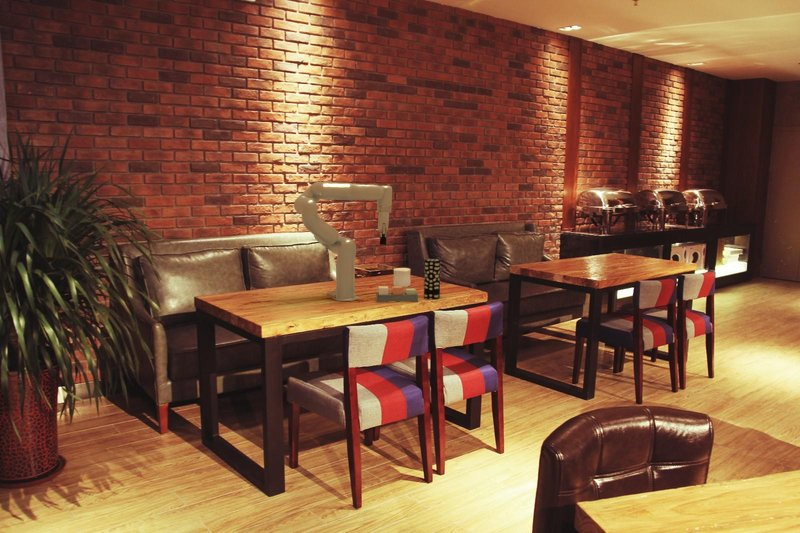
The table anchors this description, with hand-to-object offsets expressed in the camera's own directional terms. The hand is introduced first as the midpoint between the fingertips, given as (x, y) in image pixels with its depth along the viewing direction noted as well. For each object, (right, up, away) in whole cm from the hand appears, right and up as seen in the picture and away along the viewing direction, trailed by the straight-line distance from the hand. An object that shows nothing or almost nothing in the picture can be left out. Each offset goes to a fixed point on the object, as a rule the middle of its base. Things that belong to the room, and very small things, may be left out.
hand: (382, 244), depth 337 cm
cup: (+10, -23, +32) cm, 41 cm away
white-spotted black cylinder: (+26, -28, 0) cm, 38 cm away
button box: (+7, -29, -8) cm, 31 cm away
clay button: (+7, -27, -8) cm, 29 cm away
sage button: (+14, -28, -7) cm, 32 cm away
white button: (0, -27, -9) cm, 28 cm away
